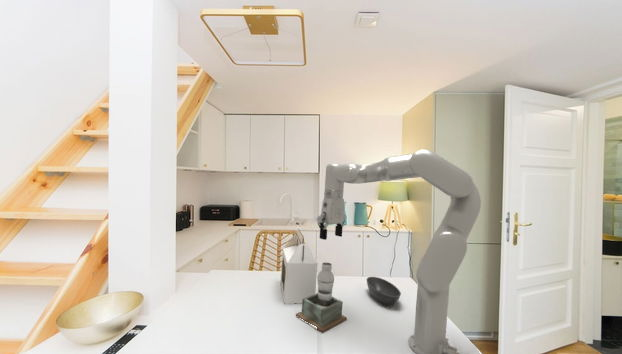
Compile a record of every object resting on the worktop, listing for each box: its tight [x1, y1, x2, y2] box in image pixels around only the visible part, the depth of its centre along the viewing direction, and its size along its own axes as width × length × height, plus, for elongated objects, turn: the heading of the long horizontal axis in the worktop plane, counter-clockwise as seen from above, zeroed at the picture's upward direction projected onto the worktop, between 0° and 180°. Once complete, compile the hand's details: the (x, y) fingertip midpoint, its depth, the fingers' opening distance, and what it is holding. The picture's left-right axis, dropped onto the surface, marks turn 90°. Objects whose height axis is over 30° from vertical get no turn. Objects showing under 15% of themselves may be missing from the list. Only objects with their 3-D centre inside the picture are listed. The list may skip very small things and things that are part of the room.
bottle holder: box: [295, 292, 348, 334], centre depth 103 cm, size 14×14×7 cm
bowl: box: [366, 276, 402, 308], centre depth 123 cm, size 12×22×6 cm, turn 14°
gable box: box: [280, 229, 319, 305], centre depth 124 cm, size 22×13×28 cm, turn 11°
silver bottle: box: [316, 262, 335, 308], centre depth 103 cm, size 6×7×20 cm
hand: (330, 237), depth 106 cm, fingers open, 9 cm apart
